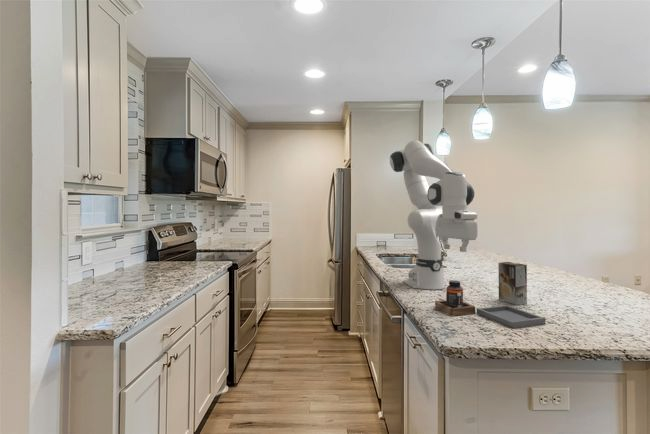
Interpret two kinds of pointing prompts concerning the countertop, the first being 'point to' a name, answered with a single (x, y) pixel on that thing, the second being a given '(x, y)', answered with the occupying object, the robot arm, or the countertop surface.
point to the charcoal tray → (511, 316)
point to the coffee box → (513, 282)
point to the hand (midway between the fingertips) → (454, 250)
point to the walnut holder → (455, 311)
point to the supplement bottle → (454, 294)
